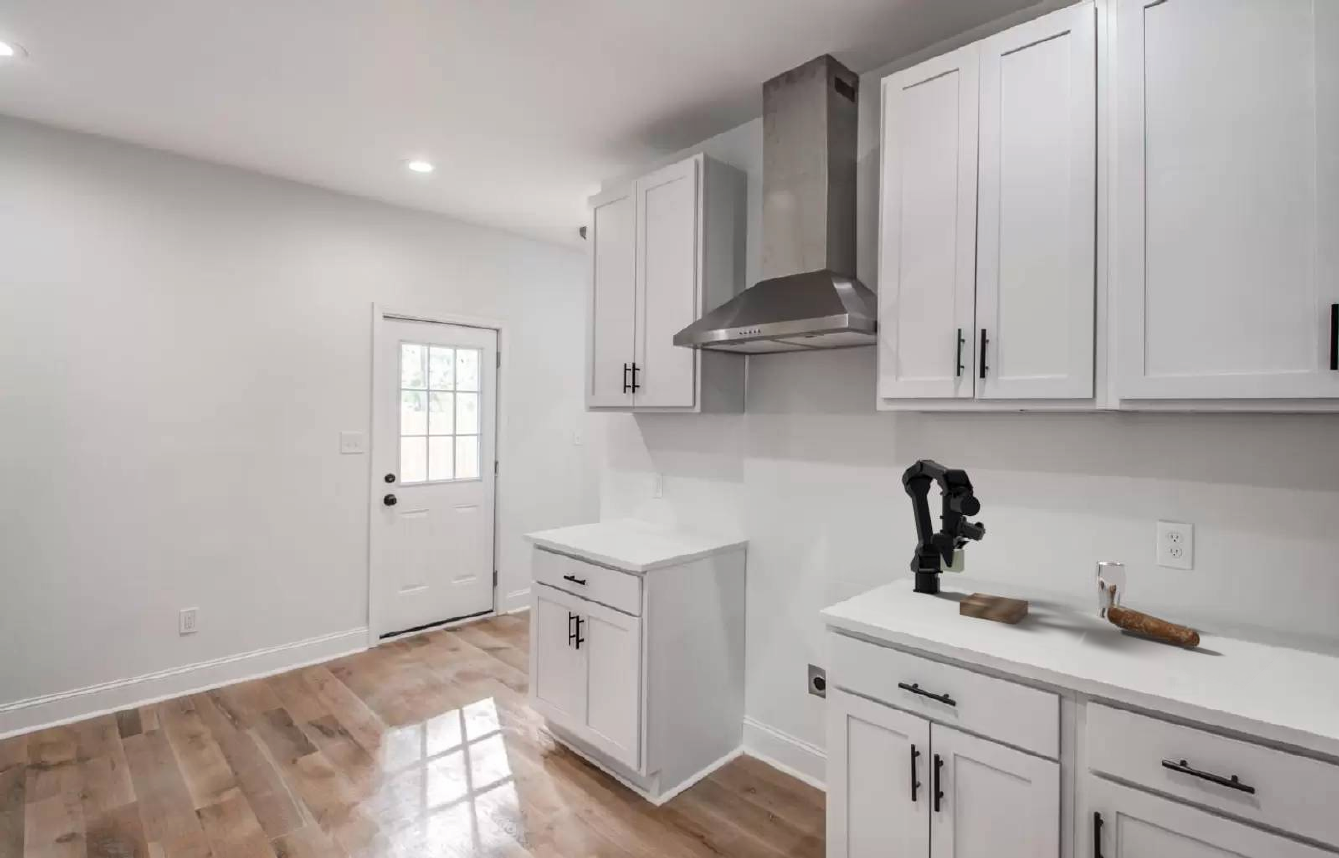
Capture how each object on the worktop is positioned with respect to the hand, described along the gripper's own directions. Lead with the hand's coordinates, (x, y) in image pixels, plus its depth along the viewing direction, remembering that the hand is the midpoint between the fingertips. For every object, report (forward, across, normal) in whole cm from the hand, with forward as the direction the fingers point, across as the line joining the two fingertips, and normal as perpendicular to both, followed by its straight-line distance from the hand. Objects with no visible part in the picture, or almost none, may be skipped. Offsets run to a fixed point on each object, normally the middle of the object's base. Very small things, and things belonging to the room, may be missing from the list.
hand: (952, 566), depth 189 cm
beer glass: (+12, +17, -36) cm, 42 cm away
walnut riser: (+12, 0, -11) cm, 17 cm away
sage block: (+1, 0, 0) cm, 1 cm away
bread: (+14, +3, -44) cm, 46 cm away
